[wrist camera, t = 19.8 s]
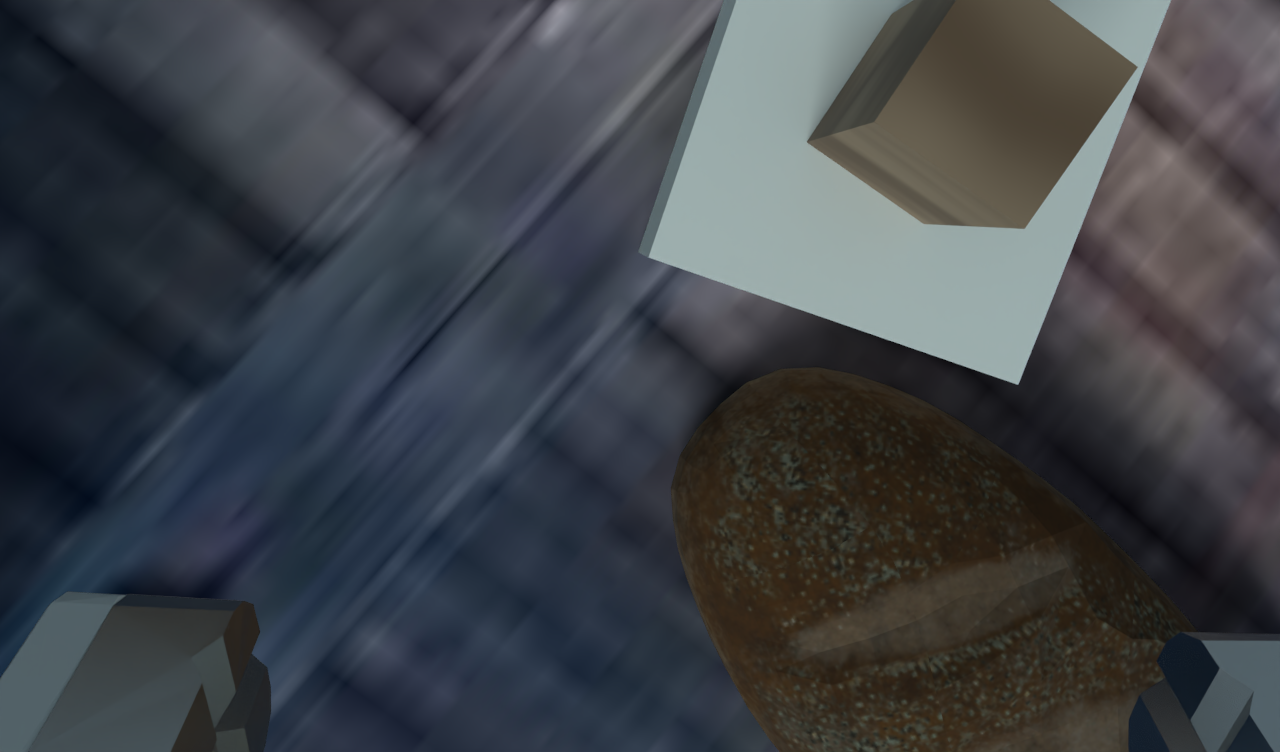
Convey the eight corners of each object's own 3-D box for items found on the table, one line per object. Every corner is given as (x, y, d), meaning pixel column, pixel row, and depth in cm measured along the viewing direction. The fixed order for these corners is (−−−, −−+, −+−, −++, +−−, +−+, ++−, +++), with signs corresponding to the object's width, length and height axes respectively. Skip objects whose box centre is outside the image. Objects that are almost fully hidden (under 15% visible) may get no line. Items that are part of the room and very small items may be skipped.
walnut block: (923, 224, 34) (1024, 228, 26) (806, 142, 34) (874, 122, 26) (1009, 100, 34) (1137, 67, 26) (891, 13, 33) (987, -47, 25)
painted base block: (637, 251, 40) (648, 257, 34) (756, -97, 38) (789, -155, 32) (954, 361, 41) (1018, 384, 36) (1082, 31, 40) (1171, -2, 34)
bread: (1111, 1054, 47) (1225, 1232, 39) (572, 530, 41) (571, 607, 33) (1363, 835, 46) (1536, 970, 38) (847, 268, 41) (917, 280, 32)
